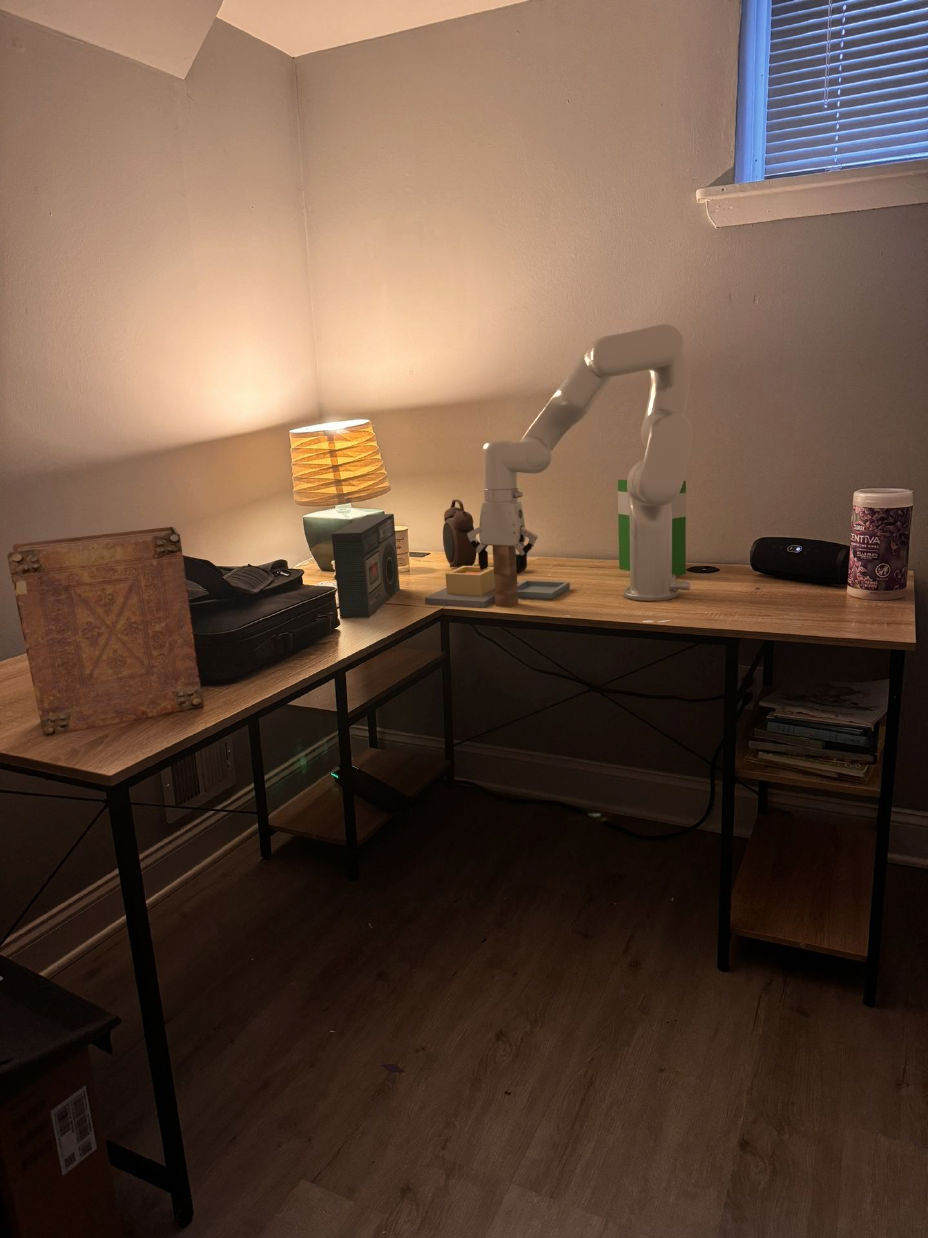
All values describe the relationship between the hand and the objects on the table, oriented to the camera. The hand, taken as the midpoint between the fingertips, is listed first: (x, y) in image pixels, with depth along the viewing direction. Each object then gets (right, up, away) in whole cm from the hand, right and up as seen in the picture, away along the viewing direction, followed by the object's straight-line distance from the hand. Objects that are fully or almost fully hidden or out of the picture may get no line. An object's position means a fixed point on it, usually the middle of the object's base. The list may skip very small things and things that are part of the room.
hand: (502, 569), depth 201 cm
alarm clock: (-10, +2, +45) cm, 46 cm away
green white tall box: (+41, +1, +28) cm, 49 cm away
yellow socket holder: (-7, -6, +13) cm, 16 cm away
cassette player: (-32, -8, +13) cm, 35 cm away
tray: (+9, -5, +11) cm, 15 cm away
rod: (+1, -8, +2) cm, 8 cm away
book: (-66, -28, -54) cm, 90 cm away
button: (-7, -3, +12) cm, 14 cm away
